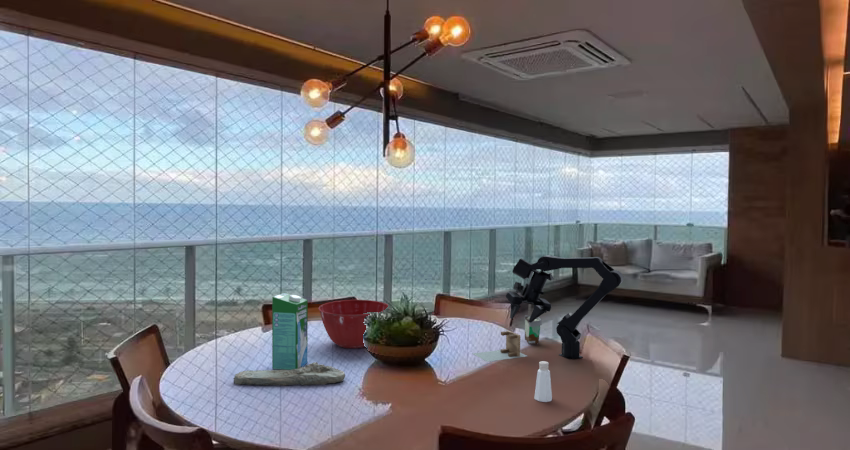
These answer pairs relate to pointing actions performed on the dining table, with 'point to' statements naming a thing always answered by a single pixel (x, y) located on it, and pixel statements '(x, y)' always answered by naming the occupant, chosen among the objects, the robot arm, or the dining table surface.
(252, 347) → the dining table surface
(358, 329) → the mixing bowl
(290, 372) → the elongated rock
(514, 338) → the stool
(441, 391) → the dining table surface
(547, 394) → the pepper shaker
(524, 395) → the dining table surface
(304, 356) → the milk carton
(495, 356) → the mat
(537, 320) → the food container
